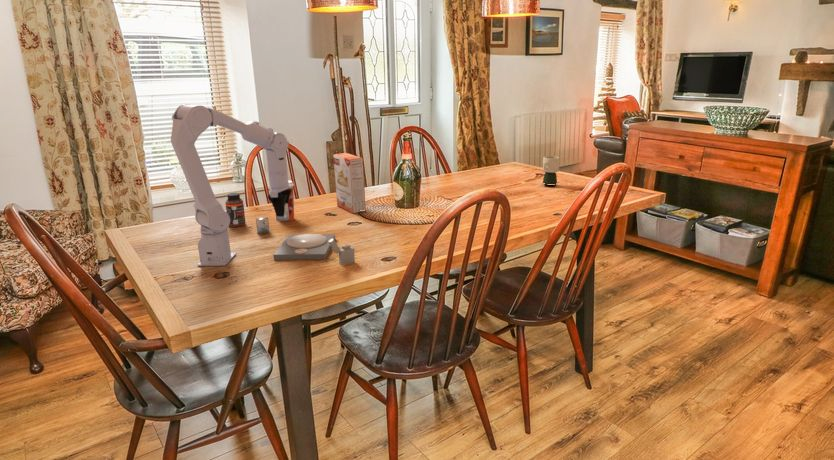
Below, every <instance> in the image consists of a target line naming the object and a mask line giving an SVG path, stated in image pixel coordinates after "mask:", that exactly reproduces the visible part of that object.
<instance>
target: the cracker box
mask: <svg viewBox="0 0 834 460" xmlns="http://www.w3.org/2000/svg"><path fill="white" fill-rule="evenodd" d="M333 163H334V164H333V166H334V167H333V168H334V177H335V194H336V206H337V207H339V208H341V209H343V210H345V211H347V212H349V213H351V214H354V213H355V214H358V212H359V211H360V210H364V209H366V207H367V206H366V190H365V176H364V175H365V174H364V171H365V170H364V158H363V157H361V156H357V155H354V154H351V153H348V152H343V153H341V152H340V153H335V154H333ZM359 213H360V212H359Z"/></svg>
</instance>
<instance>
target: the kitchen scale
mask: <svg viewBox="0 0 834 460" xmlns="http://www.w3.org/2000/svg"><path fill="white" fill-rule="evenodd" d="M330 239H334V240H335V241H336V234H319V233H304V234H288V235H287V236H286V238H285V239H283V241H282V243H281V244H280V245H279V246H278V248H277V249H276V251H275V252H274V253H273V254H272V257H273V261H282V260H283V261H287V260H288V261H289V260H294V261H295V260H301V261H302V260H327V257H328V256H329V255H328V254H329V252H330V251H331V249H332V247H331V245H330V244H329V242H328V241H329V240H330Z"/></svg>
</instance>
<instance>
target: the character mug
mask: <svg viewBox="0 0 834 460" xmlns="http://www.w3.org/2000/svg"><path fill="white" fill-rule="evenodd" d="M559 170H560V156H556V155H545V156H543V158H542V171H543V172H544V175H543V179H542V184H543V183H545V184H556V183H557V184H558V180H557V179H558V178H557V173H558V172H559Z"/></svg>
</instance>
